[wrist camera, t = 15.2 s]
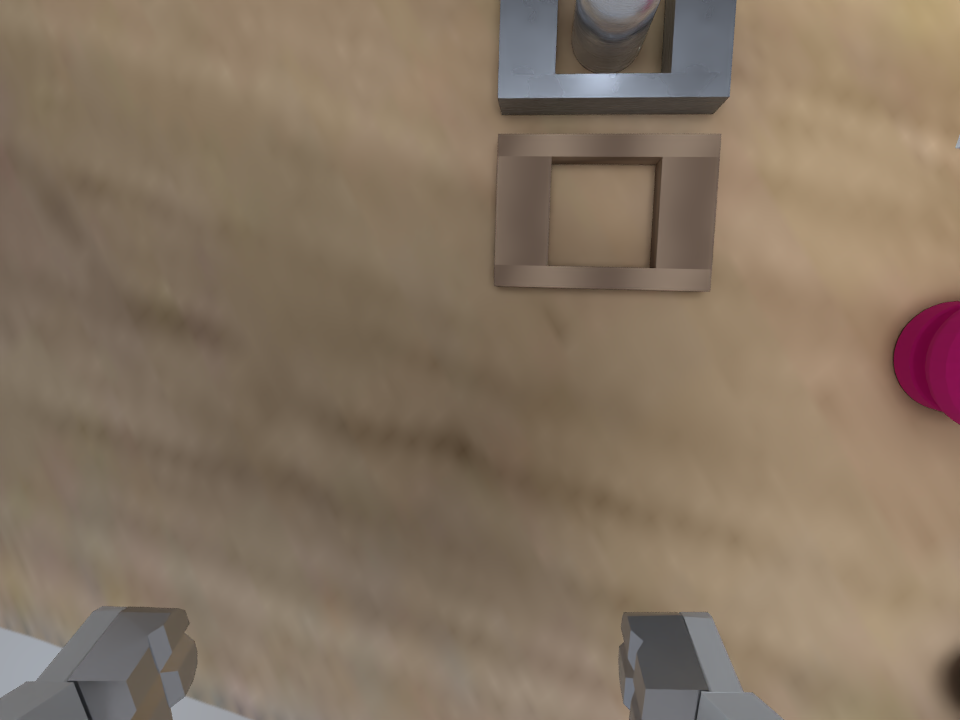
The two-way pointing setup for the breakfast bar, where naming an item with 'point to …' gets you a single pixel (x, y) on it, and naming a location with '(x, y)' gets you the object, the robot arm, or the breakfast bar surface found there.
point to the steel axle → (610, 32)
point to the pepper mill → (932, 359)
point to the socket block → (676, 90)
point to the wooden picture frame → (676, 210)
